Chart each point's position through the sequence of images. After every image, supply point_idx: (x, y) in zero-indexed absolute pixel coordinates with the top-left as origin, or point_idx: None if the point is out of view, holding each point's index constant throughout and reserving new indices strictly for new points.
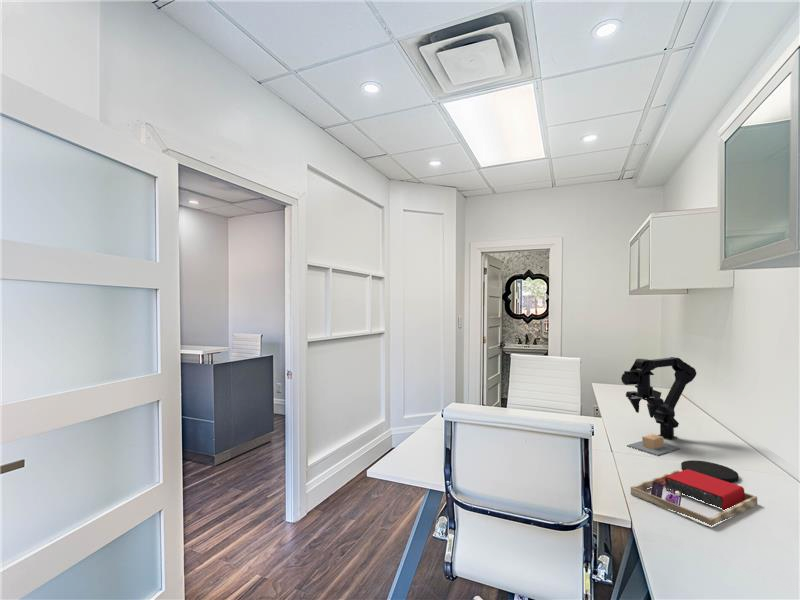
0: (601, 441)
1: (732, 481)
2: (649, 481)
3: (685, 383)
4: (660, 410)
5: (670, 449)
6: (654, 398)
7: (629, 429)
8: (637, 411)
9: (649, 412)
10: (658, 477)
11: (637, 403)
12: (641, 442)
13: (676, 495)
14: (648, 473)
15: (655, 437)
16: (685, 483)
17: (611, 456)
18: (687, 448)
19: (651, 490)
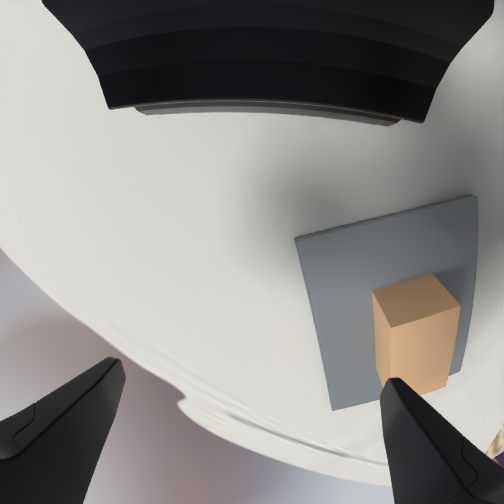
0: (243, 438)
1: None
2: (492, 458)
3: None
4: (276, 27)
5: (468, 276)
6: None
7: (68, 191)
8: (117, 382)
9: (399, 467)
10: (501, 445)
11: (49, 463)
12: (334, 339)
13: None
14: (474, 435)
15: (438, 357)
16: None
17: (371, 464)
18: (479, 145)
19: (500, 465)
